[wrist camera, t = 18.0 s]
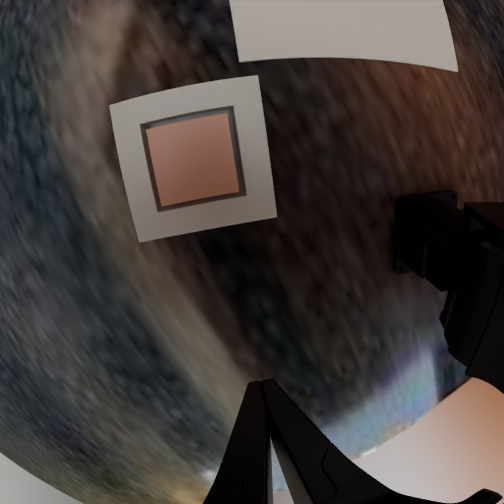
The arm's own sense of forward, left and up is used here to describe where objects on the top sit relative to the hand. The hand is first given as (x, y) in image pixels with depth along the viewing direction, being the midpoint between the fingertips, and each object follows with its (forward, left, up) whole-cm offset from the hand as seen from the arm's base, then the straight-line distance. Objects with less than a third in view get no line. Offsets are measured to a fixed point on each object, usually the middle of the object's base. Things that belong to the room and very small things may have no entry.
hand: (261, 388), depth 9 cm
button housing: (+1, -7, -12) cm, 14 cm away
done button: (+1, -7, -12) cm, 13 cm away
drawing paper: (-11, -21, -12) cm, 27 cm away
